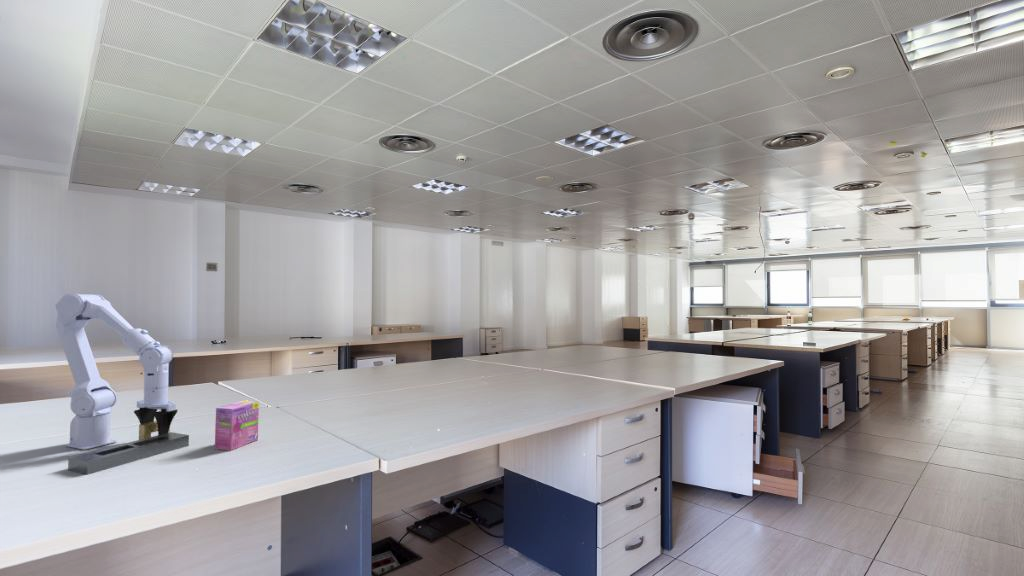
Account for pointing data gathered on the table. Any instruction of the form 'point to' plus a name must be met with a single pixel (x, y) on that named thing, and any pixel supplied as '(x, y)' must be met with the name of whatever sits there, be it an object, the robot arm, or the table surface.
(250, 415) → the box
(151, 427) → the clip
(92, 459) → the block
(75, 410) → the robot arm
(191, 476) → the table surface
